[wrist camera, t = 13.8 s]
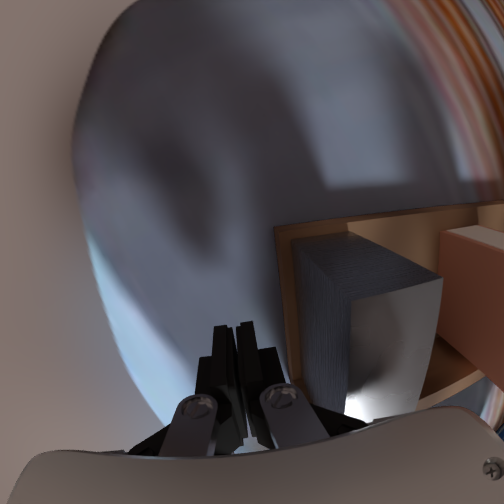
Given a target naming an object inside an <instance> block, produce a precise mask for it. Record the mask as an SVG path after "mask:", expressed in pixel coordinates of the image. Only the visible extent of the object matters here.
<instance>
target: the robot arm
mask: <svg viewBox="0 0 504 504" xmlns="http://www.w3.org/2000/svg"><path fill="white" fill-rule="evenodd" d="M240 325H241V326H237V327H236V338H237V349H236V344H235V339H234V334H233V329H232V327H230V328H228V327H227V325H221V326H214V332H213V345H212V356H207V357H200V358H199V365H198V372H197V380H196V388H195V395H191V396H188V397H186V398H185V399H183V400H182V401H181V402H180V403H179V404H178V406H177V408H176V411H175V414H174V416H173V419H172V421H171V423H170V424H169V425H167V426H166V427H164V428H163V429H161V430H160V431H158V432H157V433H155V434H154V435H152V436H150V437H149V438H147V439H145V440H144V441H142V442H141V443H139V444H137V445H136V446H134V447H133V448H132V449H130V451H129V452H125V451H124V450H118V451H105V452H93V451H84V450H55V451H48V452H44V453H41V454H38V455H36V456H34V457H33V458H32V459H31V460H30V461H29V462H28V464H27V465H26V466H25V468H24V469H23V471H22V473H21V474H20V476H19V478H18V480H17V481H16V483H15V486H14V488H13V490H12V492H11V494H10V497H9V499H8V501H7V504H504V442H503V440H502V439H501V438H500V437H499V436H498V435H497V434H496V432H495V431H494V430H493V429H492V428H491V427H490V426H489V425H488V424H487V423H486V422H485V421H484V420H482V419H481V418H480V417H479V416H478V415H476V414H475V413H474V412H472V411H470V410H469V409H466V408H464V407H460V406H441V407H433V408H427V409H423V410H418V411H414V412H409V413H405V414H400V415H394V416H389V417H383V418H377V419H373V420H372V422H369V423H366V422H364V421H362V420H360V419H357V418H354V417H351V416H347V415H344V414H341V413H338V412H335V411H331V410H328V409H325V408H322V407H320V406H317V405H314V404H311V403H309V402H308V401H307V399H306V397H305V396H304V394H303V392H302V391H301V390H300V389H299V388H298V387H297V386H295V385H293V384H288V383H286V382H285V378H284V375H283V371H282V368H281V364H280V361H279V357H278V354H277V350H276V347H270V348H264V349H258V348H257V342H256V337H255V331H254V325H253V321H249V322H242V323H240ZM237 353H238V354H237ZM245 409H246V410H245ZM246 413H247V418H248V422H249V426H250V430H251V434H252V437H257V440H258V443H259V444H261V445H263V446H265V447H267V448H269V450H264V451H257V452H249V453H241V454H234V451H235V450H236V449H237V448H238V447H239V446H244V444H243V438H248V431H247V421H246Z"/></svg>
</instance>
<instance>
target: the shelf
mask: <svg viewBox="0 0 504 504" xmlns="http://www.w3.org/2000/svg"><path fill="white" fill-rule="evenodd" d="M474 225H481V226H485V227H488V228H492V229H495V230H498V231H502V232H504V200H499V201H487V202H477V203H466V204H456V205H446V206H437V207H427V208H418V209H409V210H400V211H392V212H383V213H375V214H367V215H359V216H351V217H343V218H335V219H328V220H320V221H313V222H305V223H298V224H291V225H284V226H276V227H274V234H275V243H276V251H277V260H278V269H279V278H280V287H281V296H282V306H283V316H284V326H285V336H286V347H287V358H288V369H289V379H290V383H291V384H293V385H295V386H297V387H298V388H299V389H300V390H301V391H302V392H303V394H304V396H305V397H306V399H307V401H308V402H309V403H311V404H312V402H311V400H310V397H309V394H308V391H307V389H306V386H305V383H304V381H303V378H302V375H301V361H300V345H299V330H298V317H297V304H296V292H295V280H294V270H293V259H292V249H291V239H297V238H304V237H311V236H318V235H325V234H332V233H338V232H345V231H351V232H353V233H355V234H357V235H360V236H362V237H364V238H366V239H368V240H370V241H372V242H374V243H376V244H379V245H381V246H383V247H385V248H387V249H389V250H391V251H393V252H395V253H397V254H399V255H401V256H403V257H405V258H407V259H409V260H411V261H413V262H415V263H417V264H419V265H421V266H423V267H424V268H426V269H428V270H430V271H432V272H434V273H436V274H438V264H439V247H440V231H445V230H451V229H457V228H462V227H468V226H474ZM485 376H486V375H485V374H483V373H482V372H481V371H480V370H479V369H478V368H477V367H476V366H475V365H473V364H472V363H471V362H470V361H469V360H468V359H467V358H465V357H464V356H463V355H462V354H461V353H460V352H459V351H457V350H456V349H455V348H454V347H453V346H452V345H450V344H449V343H448V342H447V341H446V340H444V339H443V338H442V337H441V336H440V335H439V334H437V333H435V338H434V343H433V348H432V352H431V357H430V361H429V365H428V369H427V373H426V376H425V380H424V384H423V387H422V390H421V394H420V397H419V400H418V403H417V406H416V409H415V411H418V410H423V409H427V408H429V407H431V406H433V405H435V404H437V403H439V402H441V401H443V400H445V399H447V398H449V397H451V396H453V395H455V394H456V393H458V392H460V391H462V390H463V389H465V388H467V387H469V386H470V385H472V384H474V383H475V382H477V381H479V380H480V379H482V378H483V377H485Z"/></svg>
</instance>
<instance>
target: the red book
mask: <svg viewBox="0 0 504 504" xmlns="http://www.w3.org/2000/svg"><path fill="white" fill-rule="evenodd" d="M438 275H440V276H441V277H443V288H442V296H441V303H440V310H439V316H438V322H437V328H436V333H437V334H439V335H440V336H441V337H442V338H443V339H444V340H446V341H447V342H448V343H449V344H450V345H452V346H453V347H454V348H455V349H456V350H457V351H459V352H460V353H461V354H462V355H463V356H464V357H465V358H467V359H468V360H469V361H470V362H471V363H472V364H473V365H475V366H476V367H477V368H478V369H479V370H480V371H481V372H482V373H483V374H485V375H486V376H487V377H488V378H489V379H490V380H491V381H492V382H493V383H494V384H495V385H497V386H498V387H499V388H500V389H501V390H502V391H503V392H504V232H502V231H498V230H495V229H492V228H488V227H485V226H481V225H474V226H468V227H462V228H457V229H451V230H445V231H440V247H439V264H438Z"/></svg>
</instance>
